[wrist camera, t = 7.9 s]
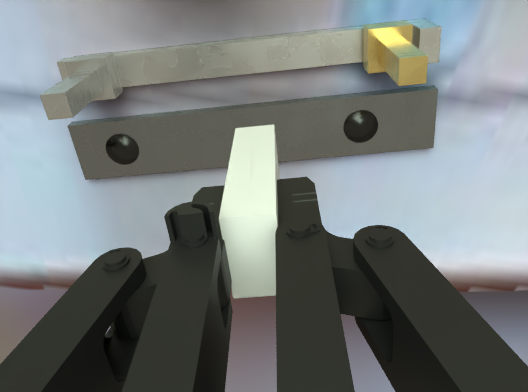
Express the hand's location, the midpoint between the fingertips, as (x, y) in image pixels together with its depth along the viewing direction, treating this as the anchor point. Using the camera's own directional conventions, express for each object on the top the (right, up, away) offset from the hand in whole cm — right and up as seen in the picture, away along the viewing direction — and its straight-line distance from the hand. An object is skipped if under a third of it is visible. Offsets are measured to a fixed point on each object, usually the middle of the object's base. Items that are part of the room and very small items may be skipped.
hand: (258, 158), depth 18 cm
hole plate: (-1, +4, +21) cm, 21 cm away
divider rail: (-2, +10, +18) cm, 20 cm away
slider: (+9, +10, +16) cm, 20 cm away
